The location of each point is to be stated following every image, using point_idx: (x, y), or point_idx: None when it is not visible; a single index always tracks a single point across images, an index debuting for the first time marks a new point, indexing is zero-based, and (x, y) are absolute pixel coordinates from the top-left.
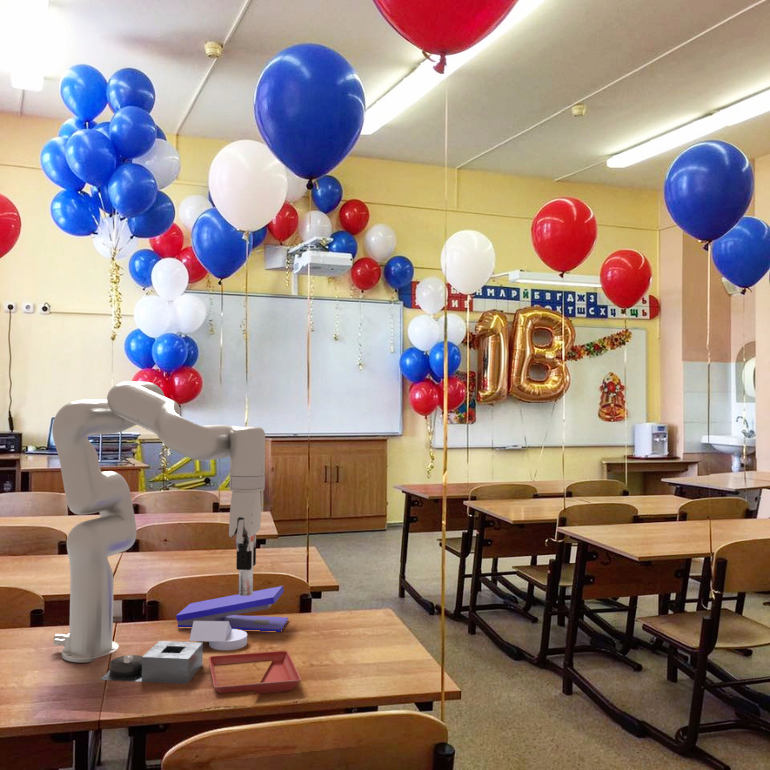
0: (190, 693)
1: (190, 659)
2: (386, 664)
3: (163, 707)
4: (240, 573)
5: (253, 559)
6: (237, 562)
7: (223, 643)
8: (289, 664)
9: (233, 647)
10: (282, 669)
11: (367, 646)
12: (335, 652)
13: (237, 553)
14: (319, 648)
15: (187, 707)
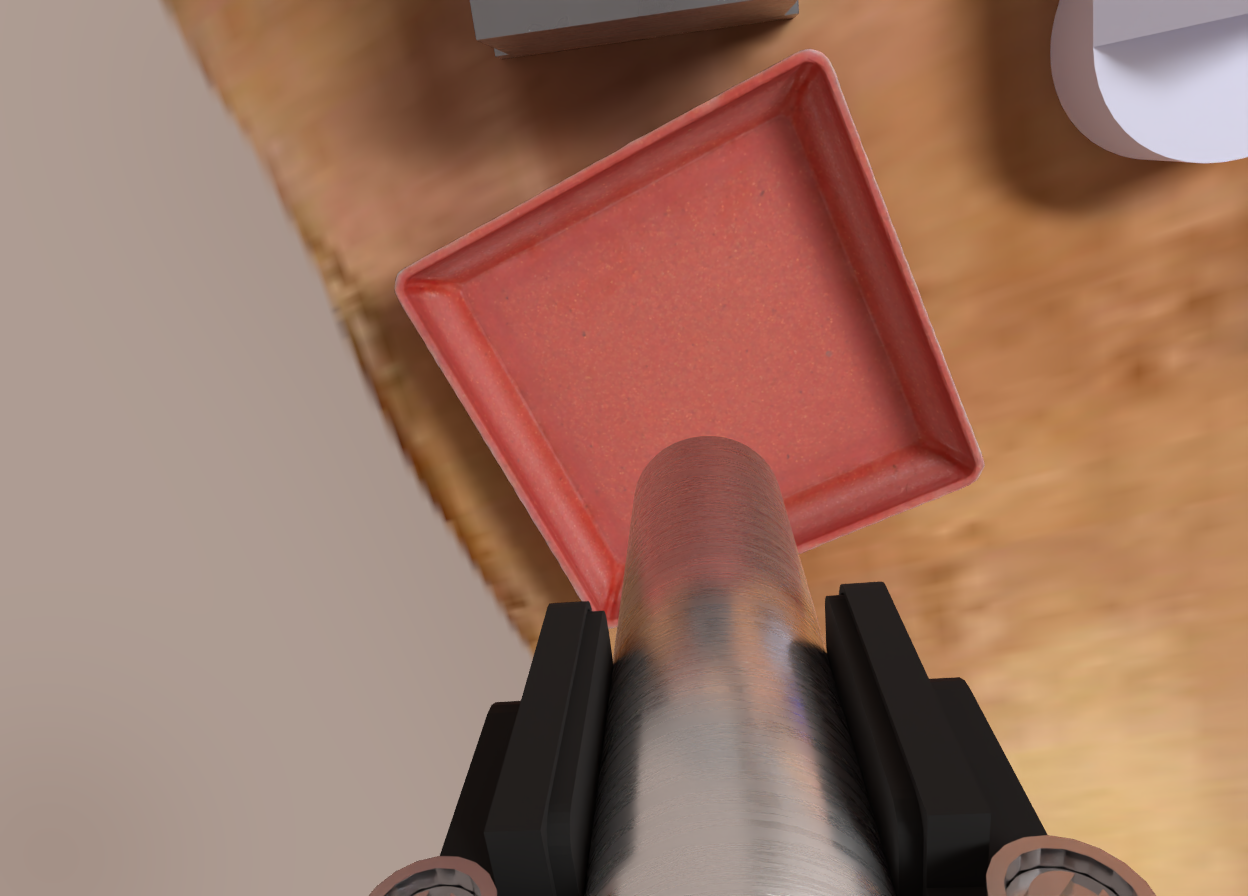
0: (460, 104)
1: (523, 36)
2: None
3: (267, 40)
4: (633, 589)
5: None
6: (536, 677)
7: (1086, 37)
8: (832, 516)
9: (1085, 108)
10: (835, 468)
11: (1214, 760)
12: (1122, 642)
13: (499, 804)
14: (1184, 560)
15: (310, 166)
